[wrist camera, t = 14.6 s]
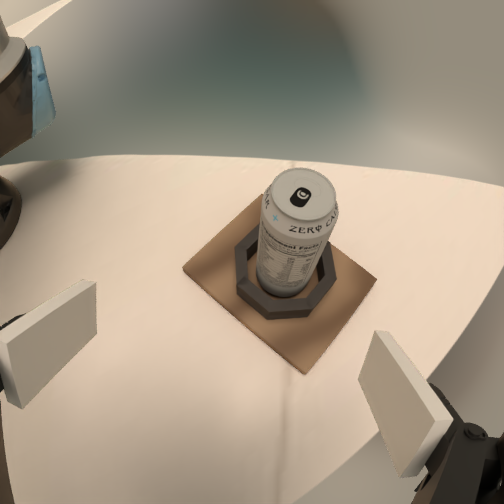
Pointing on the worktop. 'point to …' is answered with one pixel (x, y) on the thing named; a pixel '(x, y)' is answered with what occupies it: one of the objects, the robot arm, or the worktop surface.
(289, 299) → the wooden can holder
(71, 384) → the worktop surface
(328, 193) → the energy drink can
